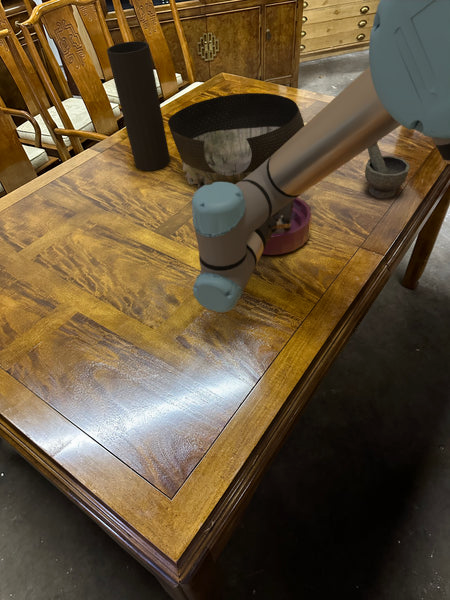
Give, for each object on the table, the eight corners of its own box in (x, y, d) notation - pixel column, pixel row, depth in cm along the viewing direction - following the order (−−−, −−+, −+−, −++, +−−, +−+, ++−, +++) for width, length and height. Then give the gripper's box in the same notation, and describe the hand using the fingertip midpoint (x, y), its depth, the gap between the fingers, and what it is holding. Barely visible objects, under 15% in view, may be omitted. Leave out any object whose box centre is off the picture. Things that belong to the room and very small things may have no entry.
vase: (159, 173, 118) (134, 54, 96) (129, 169, 121) (98, 53, 100) (176, 156, 124) (156, 41, 103) (146, 153, 127) (121, 40, 106)
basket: (287, 212, 99) (289, 146, 88) (161, 189, 111) (148, 128, 100) (320, 157, 117) (325, 96, 105) (208, 142, 129) (202, 86, 117)
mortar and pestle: (410, 189, 102) (423, 141, 93) (391, 206, 97) (403, 158, 89) (368, 175, 108) (377, 129, 99) (349, 191, 103) (356, 144, 95)
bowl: (322, 225, 94) (324, 204, 90) (286, 267, 85) (286, 245, 81) (259, 206, 102) (259, 185, 98) (220, 242, 93) (218, 222, 89)
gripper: (207, 251, 80) (247, 188, 95) (285, 265, 76) (315, 197, 91) (203, 218, 75) (246, 157, 90) (287, 231, 70) (318, 165, 85)
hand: (280, 177), depth 90 cm, fingers closed on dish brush, 2 cm apart
